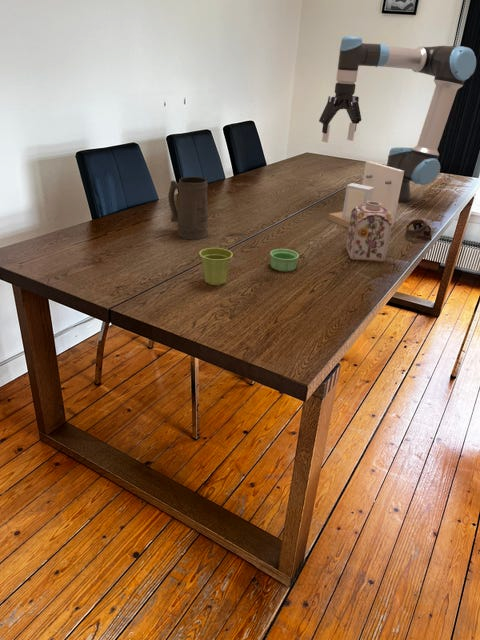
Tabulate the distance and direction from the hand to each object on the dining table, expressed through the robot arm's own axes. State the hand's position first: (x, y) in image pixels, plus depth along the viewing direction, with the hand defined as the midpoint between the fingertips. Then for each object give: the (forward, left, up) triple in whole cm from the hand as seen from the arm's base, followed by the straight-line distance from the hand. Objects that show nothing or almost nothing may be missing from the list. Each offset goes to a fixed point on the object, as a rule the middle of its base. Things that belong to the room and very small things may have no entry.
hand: (337, 141), depth 205 cm
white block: (+3, +19, -26) cm, 32 cm away
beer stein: (+68, 0, -29) cm, 74 cm away
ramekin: (+55, +40, -29) cm, 74 cm away
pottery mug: (-9, +40, -29) cm, 50 cm away
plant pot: (+80, +40, -29) cm, 94 cm away
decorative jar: (+23, +44, -29) cm, 58 cm away
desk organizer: (-1, +18, -29) cm, 34 cm away
